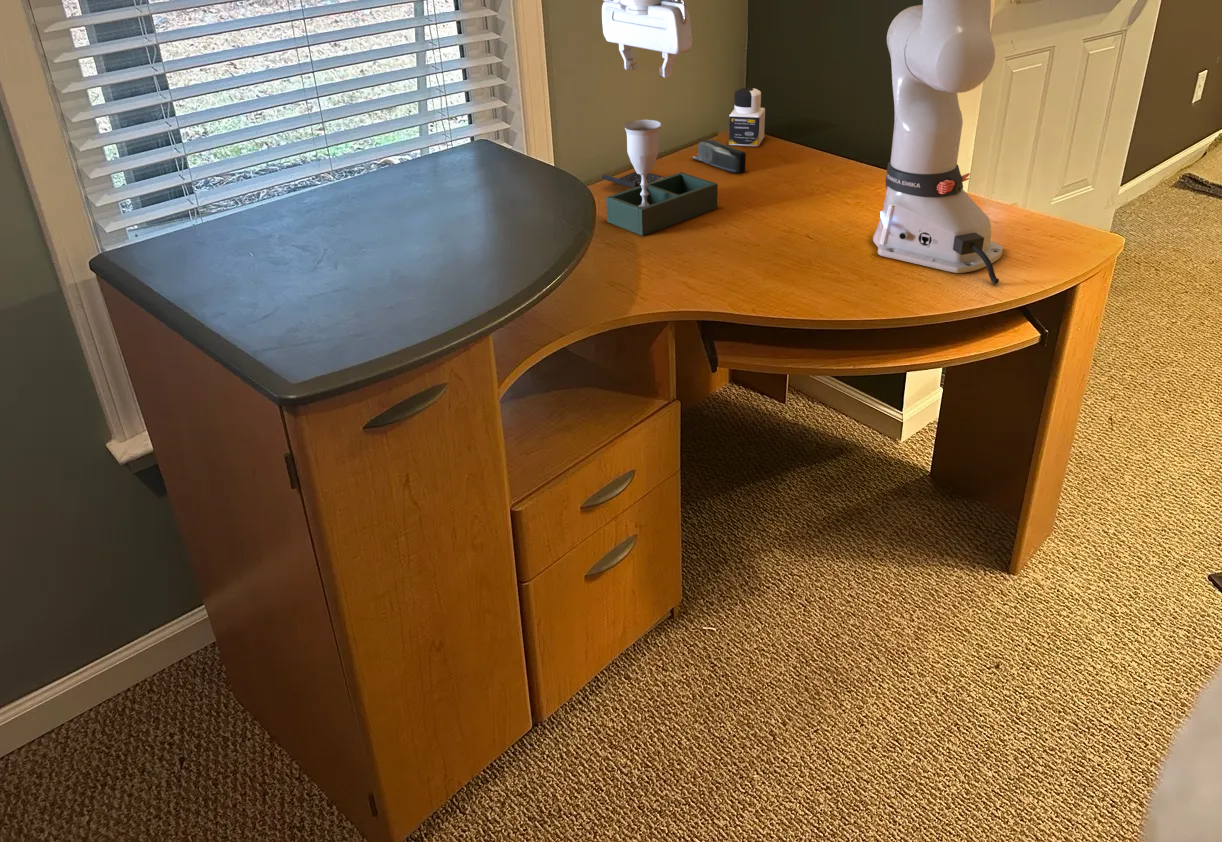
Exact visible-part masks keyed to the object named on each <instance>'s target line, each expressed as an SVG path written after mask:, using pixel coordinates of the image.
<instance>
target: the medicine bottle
mask: <svg viewBox="0 0 1222 842" xmlns="http://www.w3.org/2000/svg"><path fill="white" fill-rule="evenodd" d="M733 103H734V107H733V110H732V111H731V112H730V114H729V117H728V123H729V124H728V146H741V147H743V146H745V147H759V146H760V144H761V143H762V142H763V140H764V138H765V128H766V127H765V126H766V125H765V124H766V108H765V107H761V105H762V91H761V90H759V89H757V88H756V87H755V88H754V87H742V88H739V89H737V90H736V91H735V92H734V102H733Z"/></svg>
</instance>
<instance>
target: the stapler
mask: <svg viewBox="0 0 1222 842" xmlns="http://www.w3.org/2000/svg"><path fill="white" fill-rule="evenodd" d="M697 150H698V151H697V155H693V156H692V159H694V160H697V161H700V162H703V163H705V164H708V165H710V166H714V167H716V168H718V169H721V170H724V171H727V172H729V173H732V174H741V173H744V172H745V171H746V161H747V154H746V152H745V151H743V150H740V149H737V148H735V147H732V146H731V145H727V144H723V142H720V141H718V140H714V139H702V140H700V141H699V142H698V147H697Z"/></svg>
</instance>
